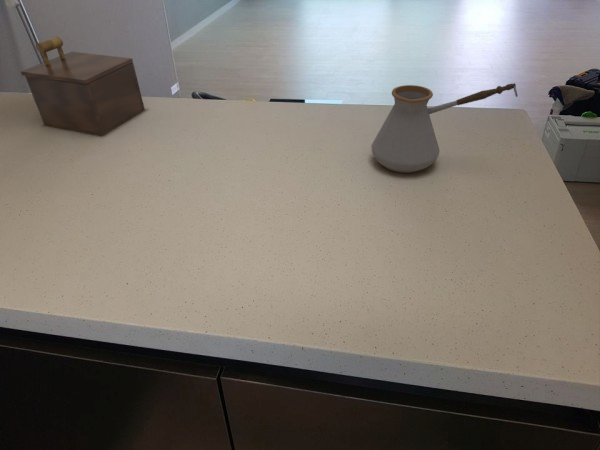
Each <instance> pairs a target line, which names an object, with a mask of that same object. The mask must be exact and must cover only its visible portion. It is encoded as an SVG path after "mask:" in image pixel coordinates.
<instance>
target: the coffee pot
mask: <svg viewBox="0 0 600 450" xmlns="http://www.w3.org/2000/svg"><path fill="white" fill-rule="evenodd" d="M510 90H513V92H514V95H515V98H517V97H518V92H517V91H518V90H517V84H516V83H515V82H514V83H508V84H506V85H504V86H501V85H497V86H496V87H495V88H491V89H484V90H480V91H477V92H475V93H472V94H470V95H466V96H464V97H461V98H458V99H456V100H453V101H449V102H446V103H442V104H439V105H435V106H432V107H428V103H429V101H430V100H431V99H433V96H434V92H433V91H432V90H431V89H429V88H428V87H425V86H422V85H421V86H420V85H415V84H414V85H413V84H406V85H400V86H396V87H394V88H393V89H392V90H391V96H392V97H393V99H394V104H393V106H392V108H391V109H390V111H389V113H388V115H387V116H386V119H385V120H384V122H383V124H382V126H381V127H380V129H379V131H378V132H377V134H376V136H375V138H374V140H373V141H372V143H371V153H372V155H373V157H374V159H375V160H376V161H377V162H378V163H379V164H380V165H381V166H383V167H385V168H386V169H387V170H390V171H392V172H396V173H402V174H405V173H406V174H411V173H416V172H419V171H422V170H425V169H426V168H428V167H430V166H432V165H433V163H435V161H436V160H437V159H438V157H439V156H440V155H439V154H440V147H439V143H438V140H437V136H436V133H435V129H434V126H433V123H432V119H431V114H434V113H438V112H441V111H444V110H447V109H450V108H453V107H456V106H461V105H465V104H469V103H473V102H478V101H481V100H485V99H487V98H490V97H492V96H494V95H497V94H498V95H501V94H502V93H503V92H506V91H510Z"/></svg>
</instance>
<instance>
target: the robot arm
mask: <svg viewBox="0 0 600 450" xmlns="http://www.w3.org/2000/svg"><path fill="white" fill-rule="evenodd" d="M4 3H5V5H6V7H7V8H9V9H10V8H12V9H14V8H18V7H20V6H21V3H20V1H19V0H4Z"/></svg>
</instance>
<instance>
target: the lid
mask: <svg viewBox="0 0 600 450" xmlns="http://www.w3.org/2000/svg"><path fill="white" fill-rule="evenodd" d="M63 46H64V42H63V39H62V38H61V37H60V36H55V37H54V36H53V37H51V38H48V39H45V40H42V41H40V42H37V43H36V44H35V49H36V50H37V52H38V53H40V54H41V58H42V59H43V62H42V63H41V62H40V63H39V64H35V65H33V66H31V67H29V68H25V69H23V70H21V71H20V75H21V76H24V77H25V76H30V77H37V78H44V79H52V80H59V81H66V82H73V83H80V84H88V83H90V82H92V81H94V80H96V79H98V78H101V77H103V76H105V75H107V74H109V73H111V72H113V71H115V70H117V69H120V68H122V67H124V66H126V65H128V64H130V63H134V60H133V58H131V57H123V56H116V55H115V56H114V55H104V54H97V53H88V52H80V51H70V52H67V53H64V50H63ZM53 50H57V54H58V56H57V57H55V58H52V59H49V57H48V53H47V52H51V51H53Z"/></svg>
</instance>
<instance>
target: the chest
mask: <svg viewBox="0 0 600 450" xmlns="http://www.w3.org/2000/svg"><path fill="white" fill-rule="evenodd" d="M24 77H25V79H26V80H25V81H26V82H27V84H28V88H29V91H30V93H31V94H32V98H33V100H34V103H35V105H36V108H37V109H38V113H39V115H40V118H41V120H42V123H43V125H44V126H46V127H51V128H55V129H61V130H66V131H72V132H77V133H78V132H79V133H82V134H87V135H92V136H98V137H104V136H106V135H108V134H109V133H110V132H112V131H114V130H115V129H117V128H119V127H120V126H122V125H124V124H126V123H127V122H129V121H130V120H132V119H133V118H135V117H137V116H139V115H140V114H142V113H144V112H145V111H146V109H145V105H144V101H143V97H142V92H141V90H140V89H141V88H140V85H139V81H138V75H137V72H136V67H135V64H134V62H132V63H130V64H128V65H126V66H124V67H122V68H120V69H117V70H115V71H113V72H111V73H109V74H107V75H105V76H103V77H101V78H98V79H96V80H94V81H92V82H90V83H88V84H80V83H73V82H66V81H59V80H52V79H44V78H37V77H30V76H24Z"/></svg>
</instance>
